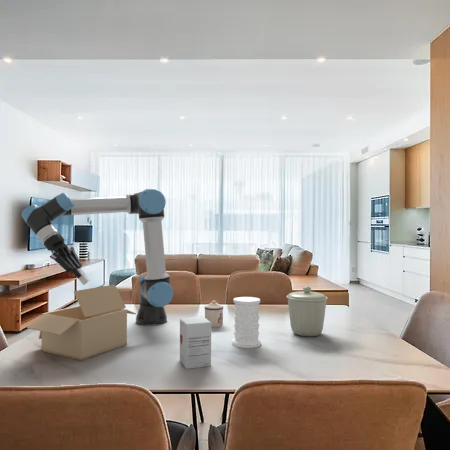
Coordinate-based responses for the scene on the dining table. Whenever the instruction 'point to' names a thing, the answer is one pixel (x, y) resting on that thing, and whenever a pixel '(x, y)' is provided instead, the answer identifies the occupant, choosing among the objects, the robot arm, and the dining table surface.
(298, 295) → the canister
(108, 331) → the carton
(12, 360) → the dining table surface
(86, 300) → the carton flap
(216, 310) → the teacup with lid
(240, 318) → the decorative container
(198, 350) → the supplement box
